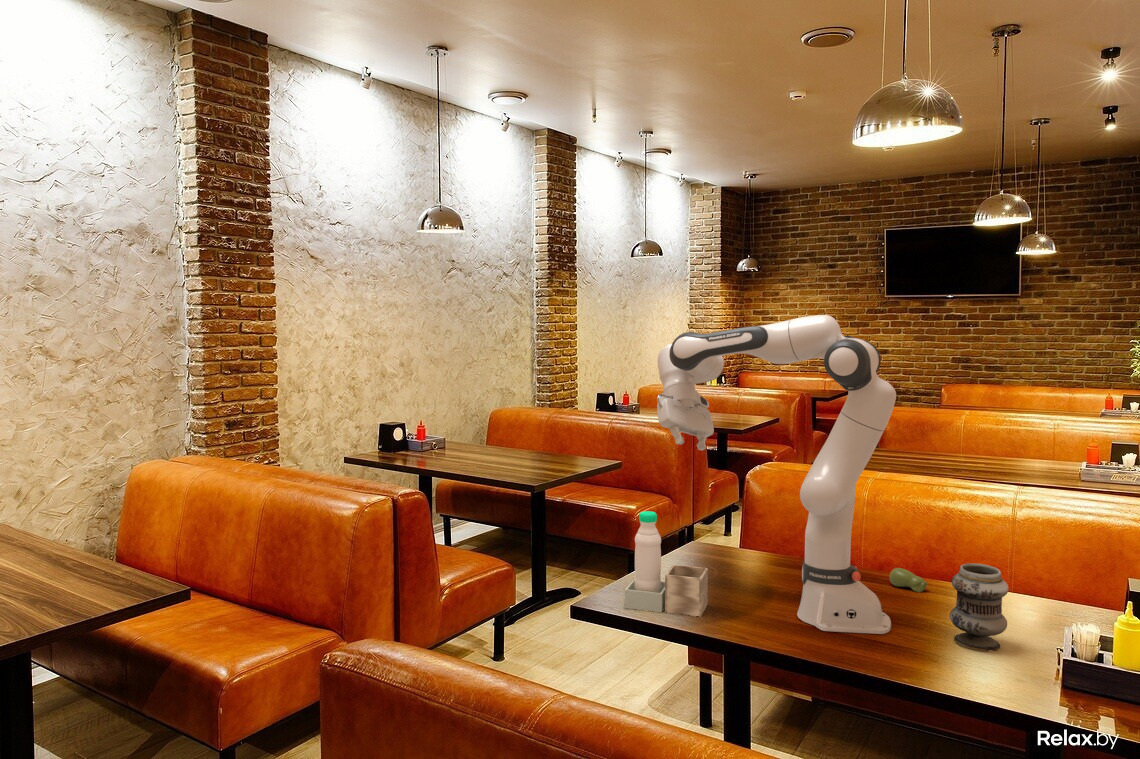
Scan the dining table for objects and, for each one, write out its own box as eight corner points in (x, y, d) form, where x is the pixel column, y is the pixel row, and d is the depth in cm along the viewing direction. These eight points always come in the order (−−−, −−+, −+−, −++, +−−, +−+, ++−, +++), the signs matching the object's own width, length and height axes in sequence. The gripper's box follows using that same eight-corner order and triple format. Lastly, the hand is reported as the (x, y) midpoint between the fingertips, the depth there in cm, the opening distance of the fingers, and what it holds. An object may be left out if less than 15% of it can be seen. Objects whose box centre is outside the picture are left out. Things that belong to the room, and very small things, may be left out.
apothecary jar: (976, 656, 179) (978, 578, 178) (937, 636, 190) (939, 563, 189) (1018, 650, 182) (1021, 573, 181) (978, 630, 194) (980, 558, 193)
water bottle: (660, 600, 216) (661, 509, 214) (661, 609, 209) (661, 515, 207) (634, 599, 217) (635, 509, 215) (634, 608, 210) (634, 515, 208)
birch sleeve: (707, 604, 212) (707, 568, 212) (700, 617, 203) (701, 578, 203) (672, 600, 215) (672, 564, 215) (665, 612, 207) (665, 575, 206)
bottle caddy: (670, 600, 216) (670, 582, 216) (661, 612, 207) (661, 593, 206) (634, 596, 219) (634, 578, 219) (624, 608, 210) (624, 589, 210)
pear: (895, 563, 230) (931, 576, 224) (892, 580, 231) (927, 593, 225) (888, 567, 226) (924, 580, 219) (884, 585, 227) (920, 598, 220)
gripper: (665, 387, 208) (676, 435, 202) (712, 402, 222) (723, 448, 216) (647, 396, 212) (657, 444, 206) (694, 411, 226) (704, 456, 219)
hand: (691, 446), depth 211 cm, fingers open, 8 cm apart
